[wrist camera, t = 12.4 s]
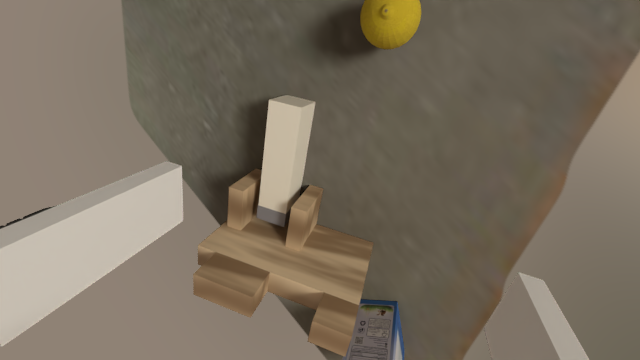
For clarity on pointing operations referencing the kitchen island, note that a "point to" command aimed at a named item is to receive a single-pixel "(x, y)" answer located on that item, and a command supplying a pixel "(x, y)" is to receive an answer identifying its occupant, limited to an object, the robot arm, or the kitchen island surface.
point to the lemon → (390, 21)
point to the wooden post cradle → (285, 263)
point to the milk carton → (376, 332)
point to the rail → (284, 157)
